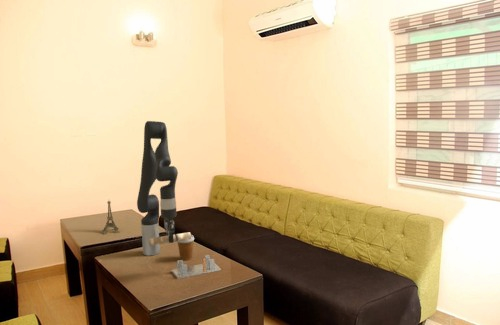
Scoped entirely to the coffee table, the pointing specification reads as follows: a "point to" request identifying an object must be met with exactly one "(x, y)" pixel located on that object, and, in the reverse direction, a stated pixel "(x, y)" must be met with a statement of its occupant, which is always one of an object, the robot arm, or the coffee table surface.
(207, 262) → the white peg stand
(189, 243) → the disposable coffee cup
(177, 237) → the dowel
